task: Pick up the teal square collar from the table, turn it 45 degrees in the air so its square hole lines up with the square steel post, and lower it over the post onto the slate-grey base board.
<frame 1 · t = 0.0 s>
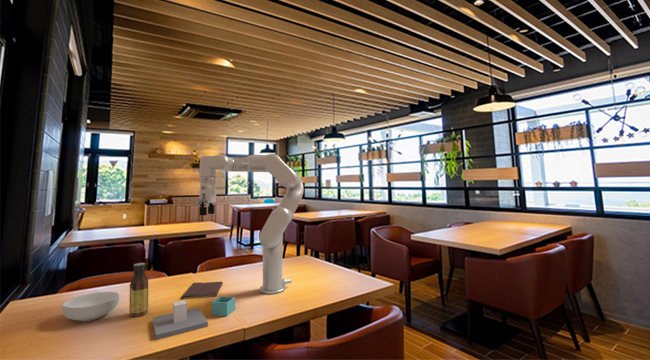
hand: (207, 214, 140), 37 cm above the table, tool pointing down, fingers open, 9 cm apart
cereal bowl: (91, 317, 109), on the table
sauce bottle: (138, 314, 111), on the table
collar: (223, 312, 112), on the table
post base: (179, 324, 102), on the table
notebook: (203, 292, 138), on the table
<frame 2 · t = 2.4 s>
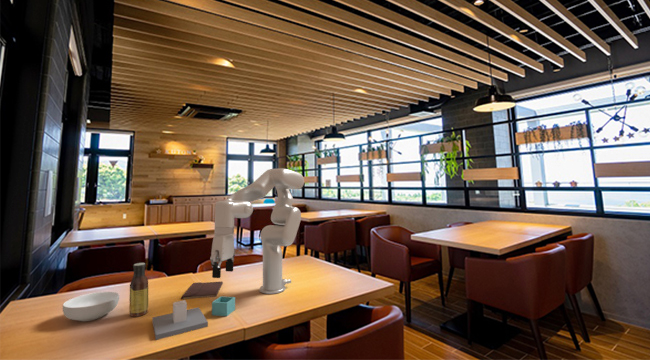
hand: (223, 274, 113), 15 cm above the table, tool pointing down, fingers open, 9 cm apart
nothing on the table moved.
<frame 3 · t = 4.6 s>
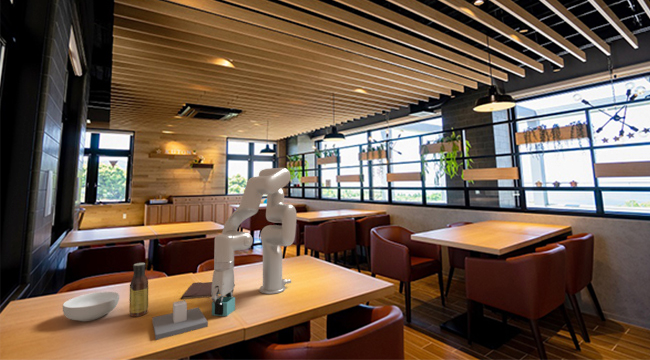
hand: (223, 310, 112), 1 cm above the table, tool pointing down, fingers closed on collar, 6 cm apart
collar: (223, 312, 112), on the table, touching gripper
everything else where it was.
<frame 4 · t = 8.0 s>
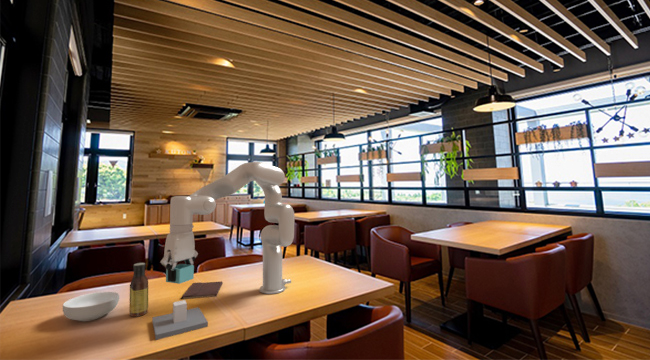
hand: (179, 278, 103), 17 cm above the table, tool pointing down, fingers closed on collar, 6 cm apart
collar: (179, 280, 103), point 16 cm above the table, touching gripper
everything else where it was.
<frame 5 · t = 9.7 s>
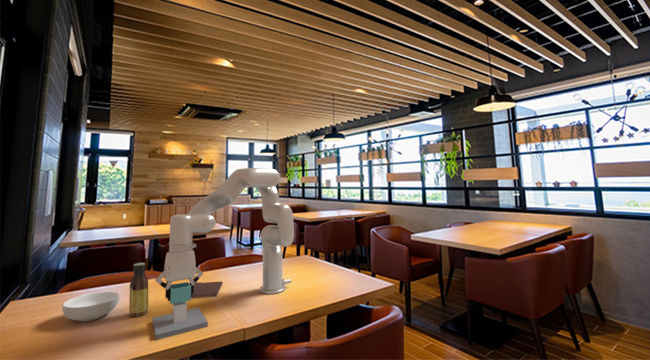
hand: (179, 297, 103), 10 cm above the table, tool pointing down, fingers closed on collar, 6 cm apart
collar: (179, 299, 103), point 9 cm above the table, touching gripper
everything else where it was.
when the fingers open (3 cm above the table, at t = 11.5 s): collar stays where it is, resting on post base.
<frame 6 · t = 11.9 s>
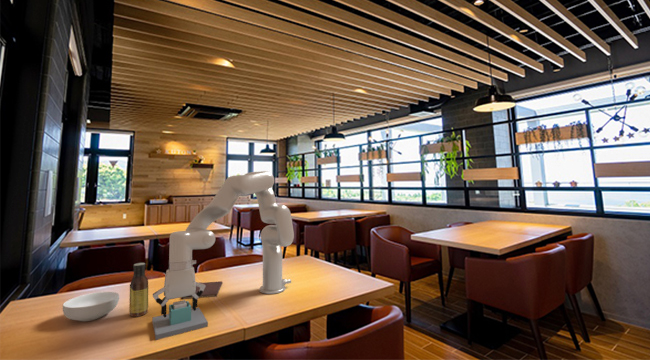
hand: (179, 312, 102), 4 cm above the table, tool pointing down, fingers open, 9 cm apart
collar: (179, 319, 102), point 2 cm above the table, touching post base
everything else where it was.
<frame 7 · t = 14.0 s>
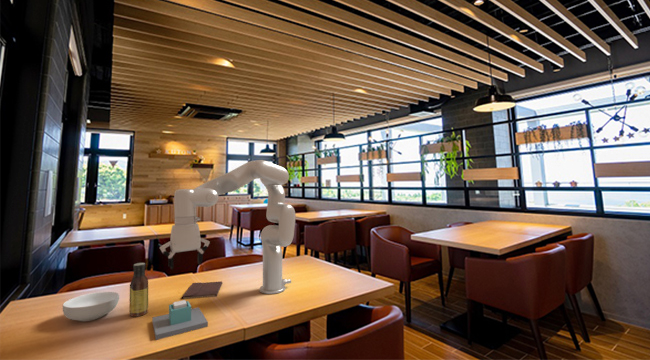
hand: (186, 265, 107), 20 cm above the table, tool pointing down, fingers open, 9 cm apart
nothing on the table moved.
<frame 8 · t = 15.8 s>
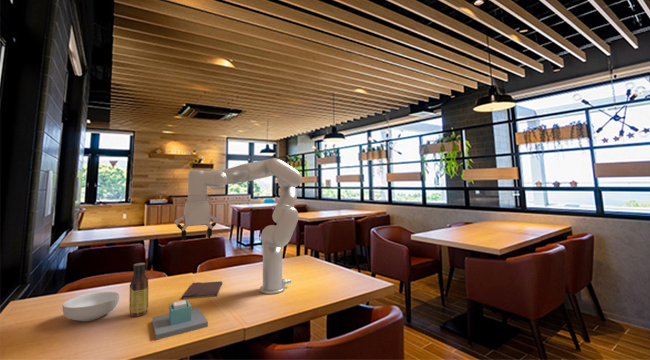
hand: (196, 238, 120), 28 cm above the table, tool pointing down, fingers open, 9 cm apart
nothing on the table moved.
at the end: collar 0.1 cm off-centre on the post base, point 1.6 cm above the post base's base; collar tilted 0°; the gripper is holding nothing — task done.
